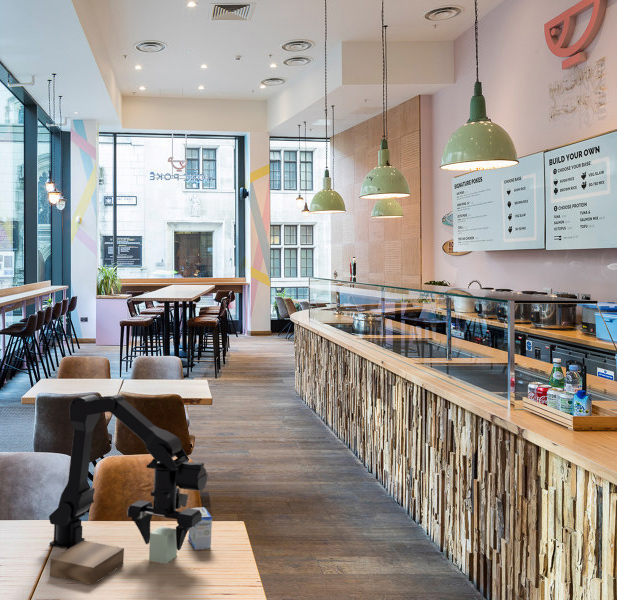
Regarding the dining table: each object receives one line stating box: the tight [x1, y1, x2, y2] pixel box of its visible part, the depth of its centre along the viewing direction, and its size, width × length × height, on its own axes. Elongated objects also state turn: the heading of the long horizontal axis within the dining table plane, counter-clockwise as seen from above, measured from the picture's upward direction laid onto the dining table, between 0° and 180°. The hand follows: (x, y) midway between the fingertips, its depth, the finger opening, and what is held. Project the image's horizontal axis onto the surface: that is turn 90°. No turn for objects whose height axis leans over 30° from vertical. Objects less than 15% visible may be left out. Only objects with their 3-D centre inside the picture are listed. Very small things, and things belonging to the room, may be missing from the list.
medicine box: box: [188, 507, 213, 551], centre depth 172 cm, size 8×4×9 cm, turn 23°
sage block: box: [148, 526, 178, 565], centre depth 162 cm, size 5×5×7 cm
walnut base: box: [49, 540, 125, 586], centre depth 154 cm, size 12×12×4 cm
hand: (163, 546), depth 162 cm, fingers open, 9 cm apart
